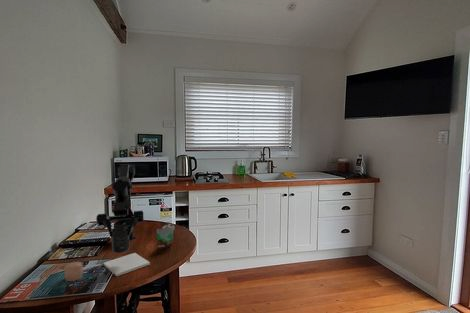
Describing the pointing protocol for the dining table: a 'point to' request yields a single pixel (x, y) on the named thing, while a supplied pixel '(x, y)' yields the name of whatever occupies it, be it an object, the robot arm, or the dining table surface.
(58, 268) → the dining table surface
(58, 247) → the dining table surface
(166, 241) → the food container
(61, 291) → the dining table surface
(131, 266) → the pad
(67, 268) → the tan rounded piece
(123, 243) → the supplement bottle
